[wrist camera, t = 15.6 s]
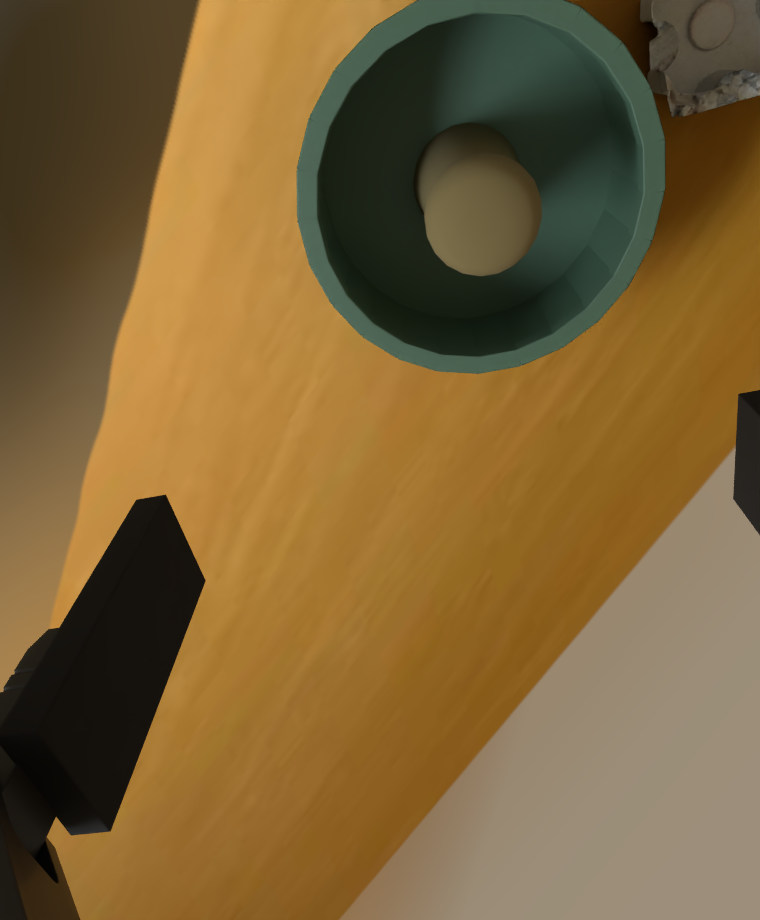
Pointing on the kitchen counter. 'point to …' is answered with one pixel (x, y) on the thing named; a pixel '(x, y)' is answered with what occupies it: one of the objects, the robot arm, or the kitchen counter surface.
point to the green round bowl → (538, 150)
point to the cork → (476, 200)
